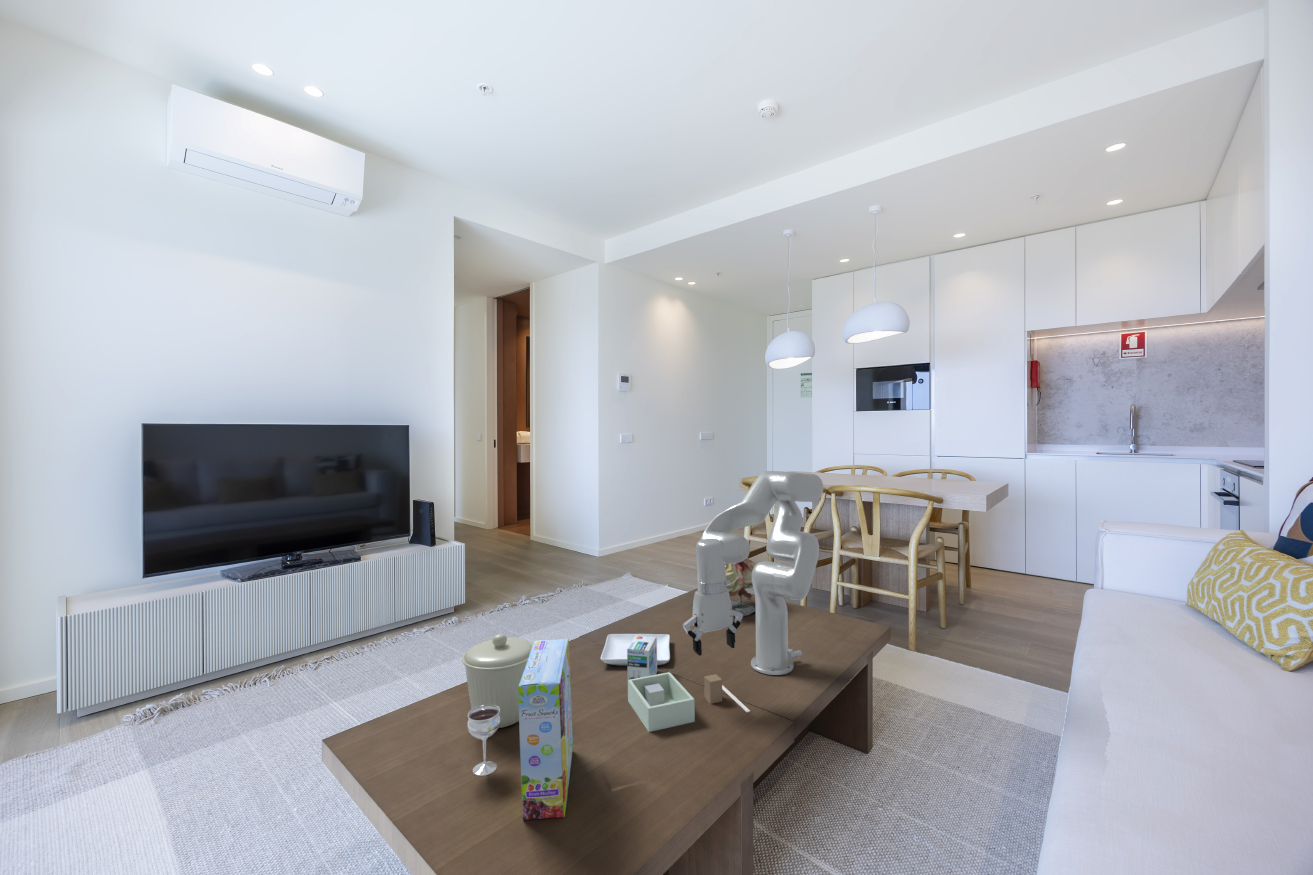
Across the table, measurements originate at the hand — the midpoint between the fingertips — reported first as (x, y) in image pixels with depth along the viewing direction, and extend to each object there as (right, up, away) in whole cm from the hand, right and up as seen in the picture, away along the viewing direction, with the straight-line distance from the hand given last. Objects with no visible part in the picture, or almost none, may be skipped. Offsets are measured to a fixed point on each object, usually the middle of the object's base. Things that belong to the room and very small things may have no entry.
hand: (714, 649), depth 143 cm
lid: (0, -14, 0) cm, 14 cm away
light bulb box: (-19, -14, +13) cm, 27 cm away
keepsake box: (-14, -14, -6) cm, 21 cm away
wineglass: (-52, -15, -28) cm, 61 cm away
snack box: (-37, -15, -33) cm, 52 cm away
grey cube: (-16, -13, -2) cm, 21 cm away
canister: (-55, -15, -7) cm, 57 cm away
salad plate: (-22, -14, +30) cm, 40 cm away
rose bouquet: (+13, -13, +74) cm, 76 cm away
